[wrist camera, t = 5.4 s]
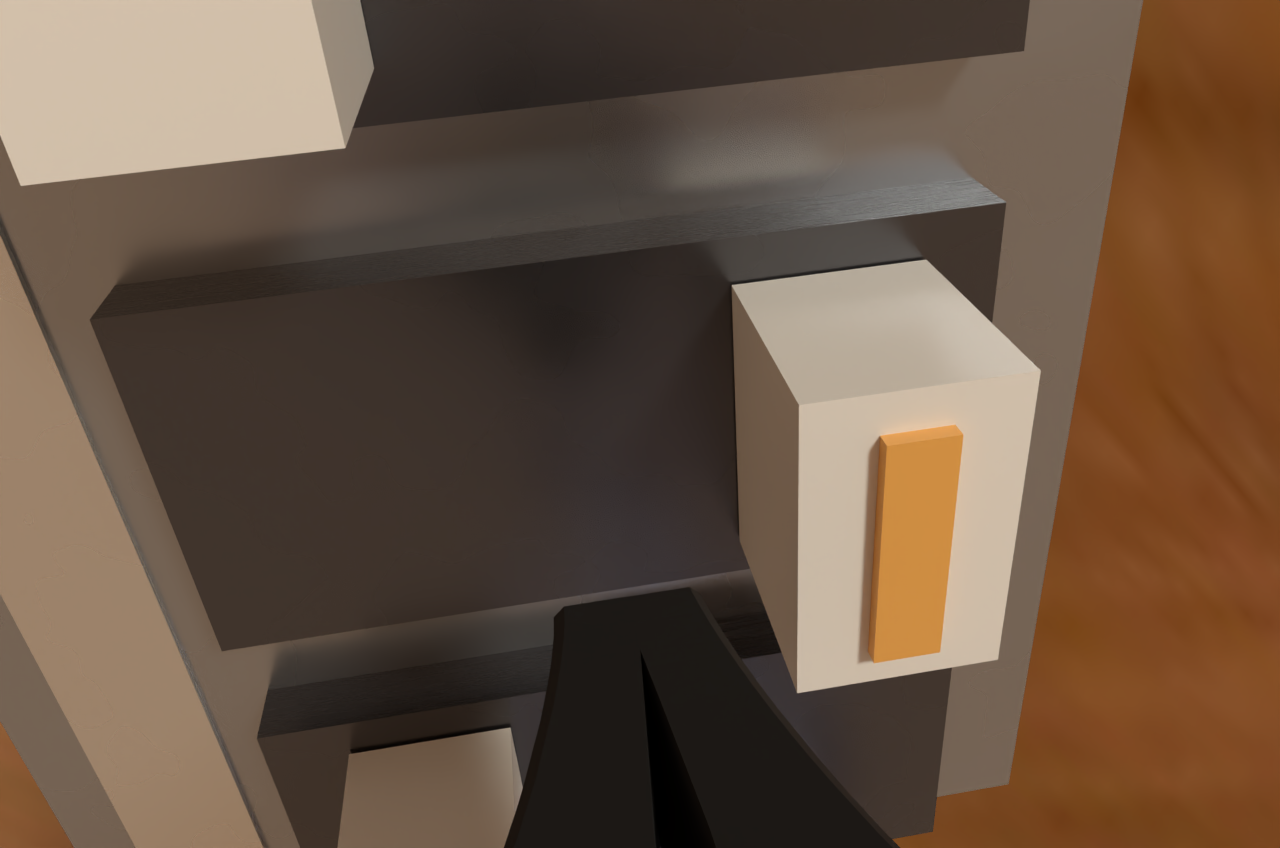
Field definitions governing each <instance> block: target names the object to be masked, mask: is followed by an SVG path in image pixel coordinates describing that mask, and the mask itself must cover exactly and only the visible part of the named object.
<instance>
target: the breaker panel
mask: <svg viewBox="0 0 1280 848" xmlns="http://www.w3.org/2000/svg"><path fill="white" fill-rule="evenodd" d="M360 2H361V7H362V12H363V16H364V21H365V26H366V31H367V36H368V41H369V46H370V50H371V55H372V60H373V65H374V70H373V73H372V76H371V79H370V81H369V84H368V87H367V90H366V92H365V95H364V98H363V101H362V103H361V106H360V109H359V112H358V115H357V117H356V120H355V123H354V126H353V128H352V131H351V134H350V137H349V139H348V142H347V145H346V148H342V149H334V150H325V151H317V152H308V153H299V154H291V155H282V156H274V157H265V158H257V159H248V160H239V161H231V162H222V163H214V164H205V165H196V166H188V167H179V168H171V169H162V170H153V171H145V172H136V173H128V174H119V175H110V176H102V177H93V178H85V179H76V180H68V181H59V182H50V183H42V184H33V185H25V186H21V185H20V183H19V180H18V178H17V175H16V173H15V171H14V168H13V166H12V163H11V161H10V158H9V156H8V153H7V151H6V148H5V146H4V144H3V141H2V139H1V136H0V722H1V723H2V725H3V727H4V728H5V730H6V732H7V734H8V735H9V737H10V739H11V740H12V742H13V744H14V746H15V747H16V749H17V751H18V752H19V754H20V756H21V758H22V759H23V761H24V763H25V764H26V766H27V768H28V770H29V771H30V773H31V775H32V776H33V778H34V780H35V782H36V783H37V785H38V787H39V788H40V790H41V792H42V793H43V795H44V797H45V799H46V800H47V802H48V804H49V805H50V807H51V809H52V811H53V812H54V814H55V816H56V817H57V819H58V821H59V823H60V824H61V826H62V828H63V829H64V831H65V833H66V835H67V836H68V838H69V840H70V841H71V843H72V845H73V847H74V848H337V847H338V839H339V831H340V823H341V815H342V807H343V799H344V791H345V783H346V775H347V767H348V759H349V754H354V753H360V752H366V751H372V750H378V749H384V748H390V747H396V746H402V745H408V744H414V743H420V742H426V741H432V740H438V739H444V738H450V737H456V736H462V735H468V734H474V733H480V732H486V731H492V730H498V729H504V728H511V733H512V737H513V742H514V747H515V752H516V757H517V762H518V766H519V771H520V776H521V781H522V786H523V785H524V782H525V778H526V774H527V770H528V766H529V762H530V759H531V755H532V751H533V747H534V743H535V739H536V736H537V732H538V728H539V724H540V720H541V715H542V710H543V705H544V700H545V695H546V690H547V685H548V679H549V673H550V666H551V659H552V649H553V638H554V616H555V615H556V614H557V613H558V612H559V611H560V610H561V609H562V608H563V607H564V606H570V605H576V604H582V603H589V602H595V601H602V600H608V599H615V598H621V597H628V596H634V595H641V594H647V593H654V592H660V591H667V590H673V589H680V588H686V587H690V588H692V589H693V590H695V591H696V592H698V593H699V594H701V595H702V597H703V599H704V601H705V603H706V605H707V607H708V608H709V610H710V612H711V613H712V615H713V617H714V618H715V620H716V622H717V623H718V625H719V626H720V628H721V630H722V631H723V633H724V634H725V636H726V637H727V639H728V640H729V642H730V643H731V645H732V646H733V648H734V649H735V651H736V652H737V654H738V655H739V657H740V658H741V659H742V661H743V662H744V663H745V665H746V666H747V668H748V669H749V670H750V672H751V673H752V675H753V676H754V677H755V679H756V680H757V682H758V683H759V684H760V686H761V687H762V688H763V690H764V691H765V692H766V694H767V695H768V696H769V697H770V699H771V700H772V701H773V703H774V704H775V705H776V707H777V708H778V709H779V710H780V712H781V713H782V714H783V715H784V717H785V718H786V719H787V720H788V721H789V723H790V724H791V725H792V726H793V728H794V729H795V730H796V731H797V733H798V734H799V735H800V736H801V737H802V739H803V740H804V741H805V742H806V744H807V745H808V746H809V747H810V748H811V750H812V751H813V752H814V753H815V755H816V756H817V757H818V758H819V759H820V761H821V762H822V763H823V764H824V765H825V766H826V767H827V769H828V770H829V771H830V772H831V773H832V774H833V776H834V777H835V778H836V779H837V780H838V781H839V782H840V784H841V785H842V786H843V787H844V788H845V789H846V790H847V791H848V793H849V794H850V795H851V796H852V797H853V798H854V799H855V800H856V801H857V802H858V803H859V805H860V806H861V807H862V808H863V809H864V810H865V811H866V812H867V813H868V814H869V815H870V816H871V818H872V819H873V820H874V821H875V822H876V823H877V824H878V825H879V826H880V827H881V828H882V830H883V831H884V832H885V833H886V834H887V835H888V836H889V837H890V838H891V839H894V838H900V837H905V836H911V835H916V834H922V833H927V832H933V825H934V816H935V808H936V799H937V797H939V796H944V795H950V794H956V793H961V792H967V791H972V790H978V789H984V788H989V787H995V786H1000V785H1006V784H1008V783H1009V778H1010V772H1011V766H1012V760H1013V754H1014V749H1015V743H1016V737H1017V731H1018V725H1019V719H1020V714H1021V708H1022V702H1023V696H1024V690H1025V684H1026V679H1027V673H1028V667H1029V661H1030V655H1031V649H1032V644H1033V638H1034V632H1035V626H1036V620H1037V615H1038V609H1039V603H1040V597H1041V591H1042V585H1043V580H1044V574H1045V568H1046V562H1047V556H1048V550H1049V545H1050V539H1051V533H1052V527H1053V521H1054V515H1055V510H1056V504H1057V498H1058V492H1059V486H1060V480H1061V475H1062V469H1063V463H1064V457H1065V451H1066V446H1067V440H1068V434H1069V428H1070V422H1071V416H1072V411H1073V405H1074V399H1075V393H1076V387H1077V381H1078V376H1079V370H1080V364H1081V358H1082V352H1083V346H1084V341H1085V335H1086V329H1087V323H1088V317H1089V311H1090V306H1091V300H1092V294H1093V288H1094V282H1095V277H1096V271H1097V265H1098V259H1099V253H1100V247H1101V242H1102V236H1103V230H1104V224H1105V218H1106V212H1107V207H1108V201H1109V195H1110V189H1111V183H1112V177H1113V172H1114V166H1115V160H1116V154H1117V148H1118V142H1119V137H1120V131H1121V125H1122V119H1123V113H1124V108H1125V102H1126V96H1127V90H1128V84H1129V78H1130V73H1131V67H1132V61H1133V55H1134V49H1135V43H1136V38H1137V32H1138V26H1139V20H1140V14H1141V8H1142V3H1143V0H360ZM919 260H927V261H928V262H929V263H930V264H931V265H932V266H933V267H934V268H936V269H937V270H938V271H939V272H940V273H941V274H942V275H943V276H944V277H945V278H946V279H947V280H948V281H949V282H950V283H951V284H952V285H953V286H954V287H955V288H956V289H957V290H958V291H959V292H960V293H961V294H962V295H963V296H964V297H965V298H966V299H968V300H969V301H970V302H971V303H972V304H973V305H974V306H975V307H976V308H977V309H978V310H979V311H980V312H981V313H982V314H983V315H984V316H985V317H986V318H987V319H988V320H989V321H990V322H991V323H992V324H993V325H994V326H995V327H996V328H997V329H998V330H999V331H1001V332H1002V333H1003V334H1004V335H1005V336H1006V337H1007V338H1008V339H1009V340H1010V341H1011V342H1012V343H1013V344H1014V345H1015V346H1016V347H1017V348H1018V349H1019V350H1020V351H1021V352H1022V353H1023V354H1024V355H1025V356H1026V357H1027V358H1028V359H1029V360H1030V361H1031V362H1033V363H1034V364H1035V365H1036V366H1037V367H1038V368H1039V369H1040V370H1041V373H1040V380H1039V387H1038V393H1037V400H1036V407H1035V414H1034V420H1033V427H1032V434H1031V440H1030V447H1029V454H1028V461H1027V467H1026V474H1025V481H1024V487H1023V494H1022V501H1021V507H1020V514H1019V521H1018V528H1017V534H1016V541H1015V548H1014V554H1013V561H1012V568H1011V575H1010V581H1009V588H1008V595H1007V601H1006V608H1005V615H1004V622H1003V628H1002V635H1001V642H1000V648H999V655H998V660H993V661H987V662H981V663H975V664H969V665H963V666H957V667H951V668H945V669H939V670H933V671H927V672H921V673H915V674H910V675H904V676H898V677H892V678H886V679H880V680H874V681H868V682H862V683H856V684H850V685H844V686H838V687H832V688H826V689H820V690H814V691H808V692H802V693H797V692H796V689H795V686H794V684H793V681H792V678H791V676H790V673H789V670H788V668H787V665H786V662H785V660H784V657H783V655H782V652H781V649H780V647H779V644H778V641H777V639H776V636H775V633H774V631H773V628H772V625H771V623H770V620H769V617H768V615H767V612H766V609H765V607H764V604H763V601H762V599H761V596H760V593H759V591H758V588H757V585H756V583H755V580H754V577H753V575H752V572H751V569H750V567H749V564H748V561H747V559H746V556H745V553H744V551H743V548H742V546H741V543H740V537H739V506H738V474H737V442H736V410H735V379H734V347H733V315H732V285H737V284H745V283H752V282H760V281H767V280H775V279H783V278H790V277H798V276H805V275H813V274H820V273H828V272H836V271H843V270H851V269H858V268H866V267H874V266H881V265H889V264H896V263H904V262H911V261H919ZM660 848H661V847H660Z"/></svg>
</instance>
